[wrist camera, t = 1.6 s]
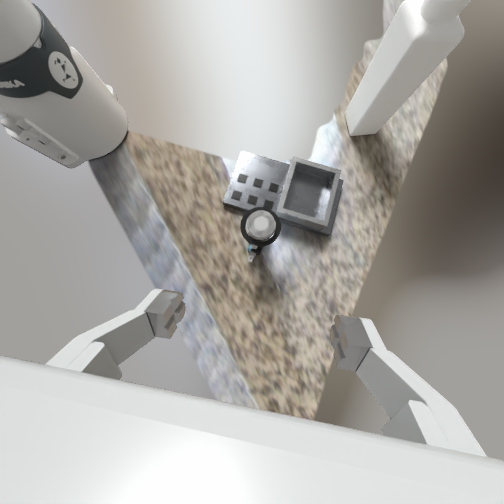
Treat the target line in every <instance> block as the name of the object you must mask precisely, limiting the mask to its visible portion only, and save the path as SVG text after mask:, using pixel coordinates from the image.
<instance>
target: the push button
mask: <svg viewBox="0 0 504 504" xmlns="http://www.w3.org/2000/svg"><path fill="white" fill-rule="evenodd" d="M245 226H246V229H247V232H248V234H249V236H248V234H247V232H246V230H245ZM280 230H281V223H280V220H279V218H278V216H277V215H276V213H275V212H273V211H272V210H270V209H268V208H265V207H256V208H253V209H251V210H249V211H248V212H246V213H245V215H244V216H243V218H242V220H241V232H242V235H243V237H244V238H245V239H246V240H247V241H248V242H249V243H250V245H249V248H248V252H250V253H249V257H248V262H252V260H253V258H254V257H255V255H257V254H258V255H259V254H260V252H261V249H262V247H263V246H266V245H269V244H271V243H273V242H274V241H275V240H276V239H277V237H278V236H279V234H280ZM274 232H275V233H274ZM273 234H274V235H273ZM272 235H273V236H272ZM271 236H272V237H271ZM269 237H271V238H270V239H269ZM250 258H251V260H250Z"/></svg>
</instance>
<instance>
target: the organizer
mask: <svg viewBox="0 0 504 504" xmlns="http://www.w3.org/2000/svg"><path fill="white" fill-rule="evenodd" d="M340 173H341V170H338V169H335V168H331V167H328V166H324V165H321V164H317V163H314V162H311V161H307V160H304V159H300V158H297V157H293V159H292V162H291V165H290V164H286V163H283V162H279V161H276V160H272V159H269V158H266V157H262V156H259V155H255V154H252V153H248V152H245V151H241V153H240V156H239V158H238V161H237V164H236V167H235V170H234V172H233V175H232V178H231V181H230V183H229V186H228V189H227V192H226V194H225V197H224V200H223V205H226V206H229V207H232V208H235V209H239V210H242V211H245V212H248V211H249V210H251V209H253V208H256V207H265V208H268V209H270V210H272V211H273V212H275V213H276V215H277V216H278V218H279V220H280V222H282V223H285V224H288V225H292V226H295V227H298V228H302V229H305V230H308V231H312V232H315V233H318V234H322V235H325V236H329V235H330V234H331V230H332V226H333V222H334V217H335V213H336V209H337V205H338V201H339V197H340V192H341V188H342V184H343V180H341V179H339V177H340Z"/></svg>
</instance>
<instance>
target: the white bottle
mask: <svg viewBox="0 0 504 504" xmlns="http://www.w3.org/2000/svg"><path fill="white" fill-rule="evenodd" d="M470 1H472V0H405V1H404V2H403V3H402V4H401V5H400V7H399V8H398V10H397V12H396V14H395V16H394V18H393V20H392V22H391V24H390V26H389V28H388V30H387V32H386V34H385V36H384V37H383V39H382V41H381V43H380V45H379V47H378V49H377V51H376V53H375V55H374V57H373V59H372V61H371V63H370V65H369V67H368V69H367V71H366V73H365V75H364V76H363V78H362V80H361V82H360V84H359V86H358V88H357V90H356V92H355V94H354V96H353V98H352V100H351V102H350V104H349V106H348V108H347V110H346V112H345V118H346V122H347V126H348V130H349V134H350V136H358V135H368V134H376V133H377V132H378V131H379V130H380V129H381V127H382V126H383V125H384V124H385V123H386V122H387V121H388V120H389V119H390V118H391V117H392V115H393V114H394V113H395V112H396V111H397V110H398V109H399V108H400V107H401V106H402V105H403V103H404V102H405V101H406V100H407V99H408V98H409V97H410V96H411V95H412V94H413V93H414V91H415V90H416V89H417V88H418V87H419V86H420V85H421V84H422V83H423V82H424V80H425V79H426V78H427V77H428V76H429V75H430V74H431V73H432V72H433V71H434V70H435V68H436V67H437V66H438V65H439V64H440V63H441V62H442V61H443V60H444V59H445V58H446V56H447V55H448V54H449V53H450V52H451V51H452V50H453V49H454V48H455V47H456V45H457V44H458V43H459V42H460V41H461V40H462V38H463V36H464V27H463V26H462V23H461V21H460V19H459V15H458V14H459V13H460V12H461V10H462V9H463V8H464V7H465V6H466V5H467V4H468V3H469V2H470Z"/></svg>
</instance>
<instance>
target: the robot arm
mask: <svg viewBox="0 0 504 504" xmlns="http://www.w3.org/2000/svg"><path fill="white" fill-rule="evenodd" d="M0 115H2V116H3V117H4V118H2V119H1V120H0V124H2V125H3V126H5V127H6V132H7V134H8V135H10V136H11V137H13V138H14V139H16V140H18V141H19V142H21V143H23V144H25V145H27V146H29V147H31V148H33V149H34V150H36V151H38V152H40V153H42V154H44V155H45V156H47V157H49V158H51V159H53V160H55V161H57V162H58V163H60V164H62V165H64V166H66V167H68V168H75V167H77V166H79V165H80V164H82V163H84V162H85V161H87V160H90V159H94V158H98V157H101V156H104V155H106V154H108V153H109V152H111V151H113V150H114V149H115V148H116V147H117V146H118V145H119V144H120V143H121V142H122V140H123V139H124V137H125V135H126V132H127V129H128V118H127V115H126V112H125V110H124V109H123V108H122V107H121V105H120V104H119V103H118V100H117V96H116V93H115V91H114V90H113V88H112V87H111V86H109V85H105V84H104V83H103V82H102V81H101V79H100V78H99V77H98V76H97V74H96V73H95V72H94V71H93V70H92V68H91V67H90V66H89V65H88V64H87V62H86V61H85V60H84V59H83V57H82V56H81V55H80V54H79V53H78V51H76V50H75V49H74V48H73V47H70V46H68V45H67V43H66V42H65V40H64V39H63V38H62V36H61V35H60V34H59V32H58V30H57V29H56V27H55V26H54V25H53V23H52V22H51V21H49V19H48V18H47V17H46V16H45V15H44V13H43V12H42V11H41V10H40V9H39V8H38V7H37V6H36V5H35V4H33V3H31V2H30V0H0ZM183 298H184V297H183V293H180V292H175V291H169V290H162V289H153V290H152V291H151V292H150V293H149V294H148V295H147V296H146V298H145V299H144V300H143V301H142V302H141V303H140V304H139V305H138V306H137V307H136V308H135V310H130V311H128V312H126V313H124V314H121V315H120V316H117V317H115V318H113V319H111V320H109V321H107V322H105V323H103V324H101V325H99V326H97V327H95V328H92V329H91V330H89V331H87V332H84V333H82V334H80V335H78V336H76V337H75V338H74V339H73V340H71V341H70V342H69V343H68V344H67V345H66V346H65V347H64V348H62V350H60V351H59V352H58V353H57V354H56V355H55V356H54V357H53V358H51V359H50V360H49V361H48V362H47V363H46V364H40V363H36V362H31V361H26V360H21V359H16V358H11V357H7V356H2V355H0V504H504V461H503V460H498V459H494V458H489V457H487V456H486V454H485V453H484V451H483V450H482V448H481V447H480V445H479V444H478V442H477V441H476V439H475V438H474V436H473V434H472V433H471V431H470V430H469V428H468V427H467V425H466V424H465V422H464V421H463V419H462V418H461V416H460V414H459V413H458V411H457V410H456V408H455V407H454V406H453V405H452V404H450V403H449V402H448V401H447V400H446V399H445V398H444V397H442V396H441V395H440V394H439V393H438V392H437V391H436V390H434V389H433V388H432V387H431V386H430V385H429V384H427V383H426V382H425V381H424V380H423V379H422V378H421V377H419V376H418V375H417V374H416V373H415V372H413V370H411V369H410V368H409V367H408V366H407V365H406V364H405V363H403V362H402V361H401V360H400V359H399V358H398V357H397V356H395V355H394V354H393V353H392V352H391V351H387V350H386V348H385V346H384V344H383V342H382V340H381V338H380V336H379V334H378V332H377V330H376V328H375V326H374V324H373V322H372V321H371V320H370V319H365V318H358V317H351V316H343V315H336V316H335V319H334V321H335V324H334V325H332V327H331V330H330V341H331V345H332V346H333V348H334V349H335V351H334V358H335V363H336V366H337V368H340V369H345V370H350V371H355V372H356V374H357V375H358V376H359V378H360V379H361V380H362V382H363V383H364V384H365V385H366V387H367V388H368V389H369V391H370V392H371V394H372V395H373V396H374V398H375V399H376V400H377V401H378V403H379V404H380V405H381V407H382V408H383V409H384V411H385V412H386V413H387V415H388V416H389V417H390V420H389V421H388V422H387V423H386V424H385V425H384V426H383V427H382V429H381V430H382V432H383V435H379V434H374V433H370V432H365V431H360V430H355V429H350V428H346V427H341V426H336V425H331V424H327V423H322V422H317V421H313V420H308V419H303V418H298V417H293V416H289V415H284V414H279V413H274V412H270V411H265V410H260V409H255V408H251V407H246V406H241V405H236V404H232V403H227V402H222V401H217V400H212V399H207V398H202V397H198V396H193V395H188V394H184V393H179V392H174V391H169V390H165V389H160V388H155V387H150V386H146V385H141V384H136V383H131V382H126V381H122V380H120V378H121V377H122V372H121V370H120V369H119V367H118V365H119V364H120V363H121V362H123V361H124V360H126V359H127V358H128V357H130V356H131V355H132V354H134V353H135V352H136V351H137V350H139V349H140V348H141V347H143V346H144V345H146V344H147V343H148V342H149V341H151V340H152V339H154V338H155V337H162V338H169V339H170V338H171V337H172V335H173V333H174V332H175V330H176V328H177V325H176V324H177V323H178V322H180V321H181V320H182V318H183V317H184V313H185V303H184V302H183V301H182V300H183Z"/></svg>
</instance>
